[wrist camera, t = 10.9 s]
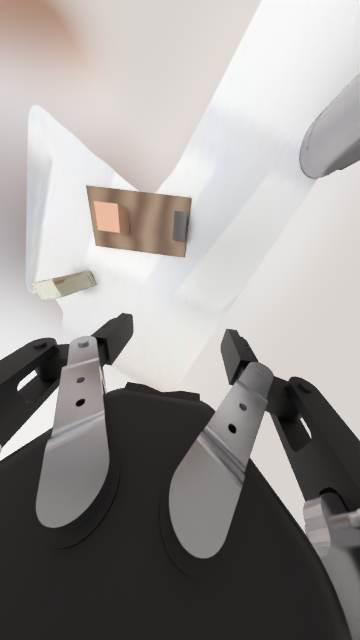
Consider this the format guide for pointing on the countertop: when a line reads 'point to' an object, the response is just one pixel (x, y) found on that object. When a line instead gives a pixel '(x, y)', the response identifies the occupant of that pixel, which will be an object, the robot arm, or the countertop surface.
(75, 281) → the skincare box
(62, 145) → the countertop surface
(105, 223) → the terracotta block
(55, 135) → the countertop surface
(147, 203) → the walnut strip
